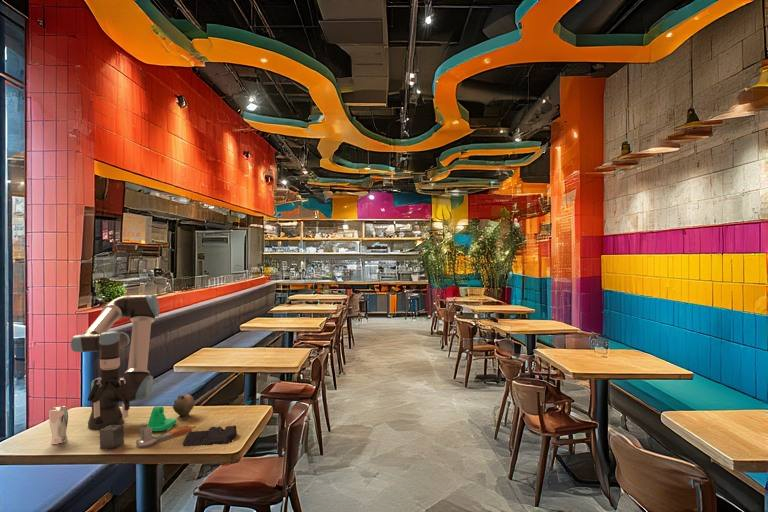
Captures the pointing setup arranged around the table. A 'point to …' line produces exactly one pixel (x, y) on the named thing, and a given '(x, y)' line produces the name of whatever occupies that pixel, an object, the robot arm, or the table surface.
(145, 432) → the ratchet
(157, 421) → the camera mount
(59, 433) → the beer glass
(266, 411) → the table surface
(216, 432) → the dark slate chunk
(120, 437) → the brushed brown cube
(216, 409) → the table surface
